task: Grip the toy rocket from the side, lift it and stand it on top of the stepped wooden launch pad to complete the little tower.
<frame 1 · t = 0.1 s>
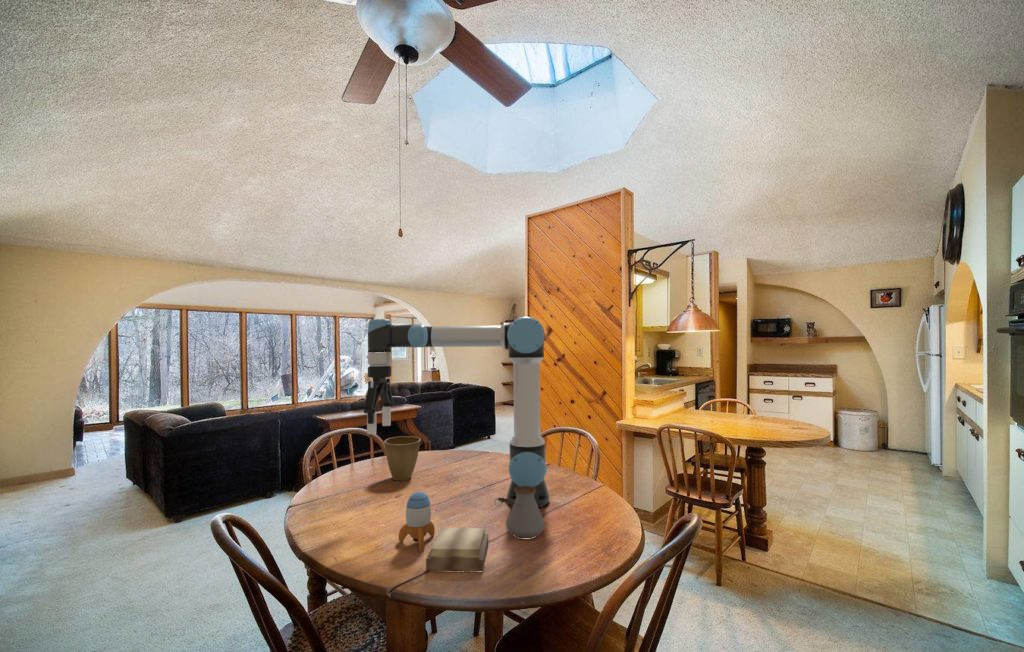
hand: (379, 429, 138), 28 cm above the table, tool pointing down, fingers open, 13 cm apart
plant pot: (402, 478, 175), on the table
coffee pot: (517, 541, 118), on the table
launch pad: (459, 557, 109), on the table
toy rocket: (414, 543, 118), on the table
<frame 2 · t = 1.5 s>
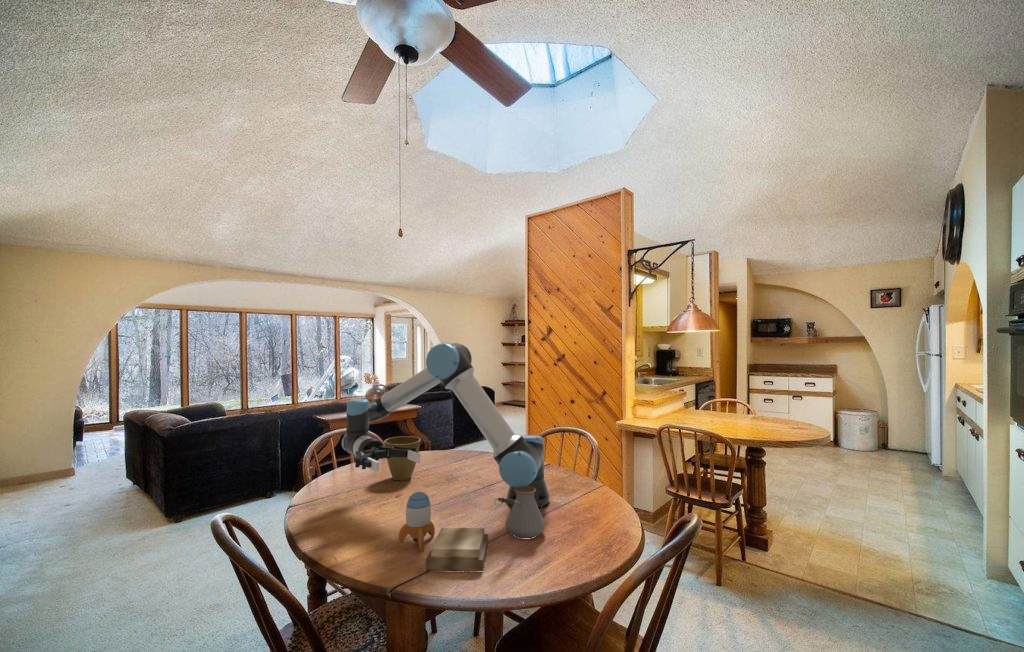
hand: (399, 462, 126), 20 cm above the table, tool horizontal, fingers open, 13 cm apart
nothing on the table moved.
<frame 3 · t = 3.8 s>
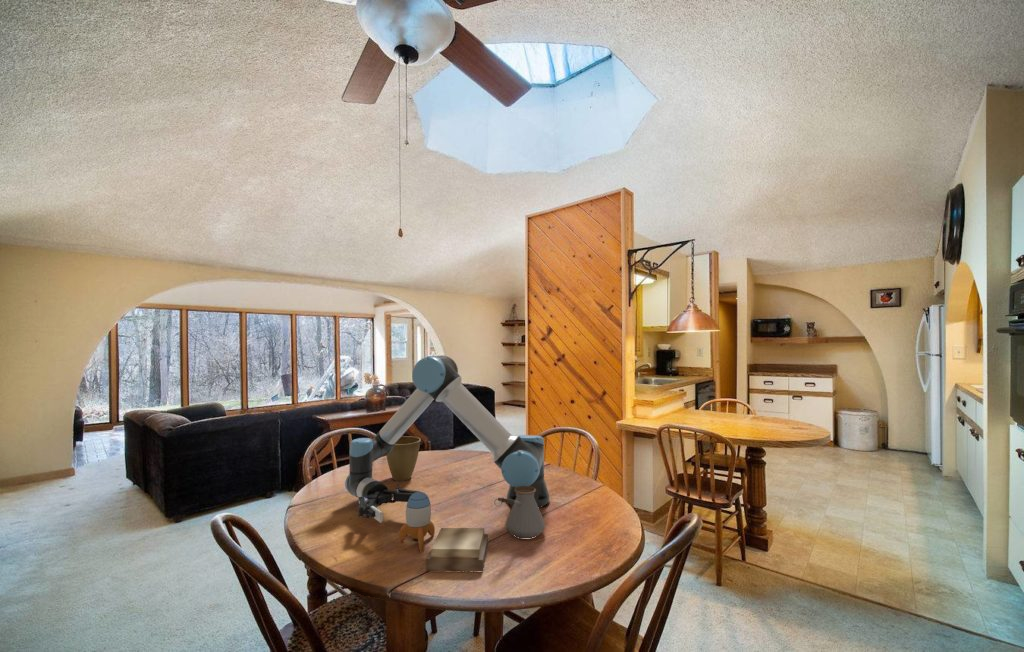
hand: (403, 510, 122), 7 cm above the table, tool horizontal, fingers open, 13 cm apart
nothing on the table moved.
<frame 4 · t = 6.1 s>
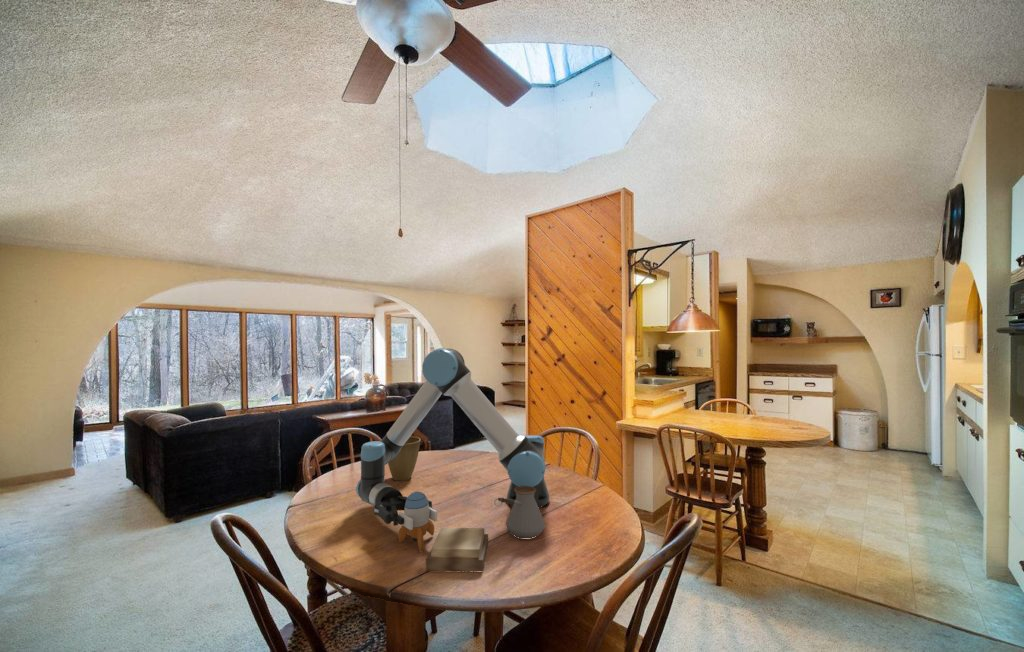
hand: (424, 520, 114), 8 cm above the table, tool horizontal, fingers closed on toy rocket, 7 cm apart
toy rocket: (414, 542, 118), on the table, touching gripper
everything else where it was.
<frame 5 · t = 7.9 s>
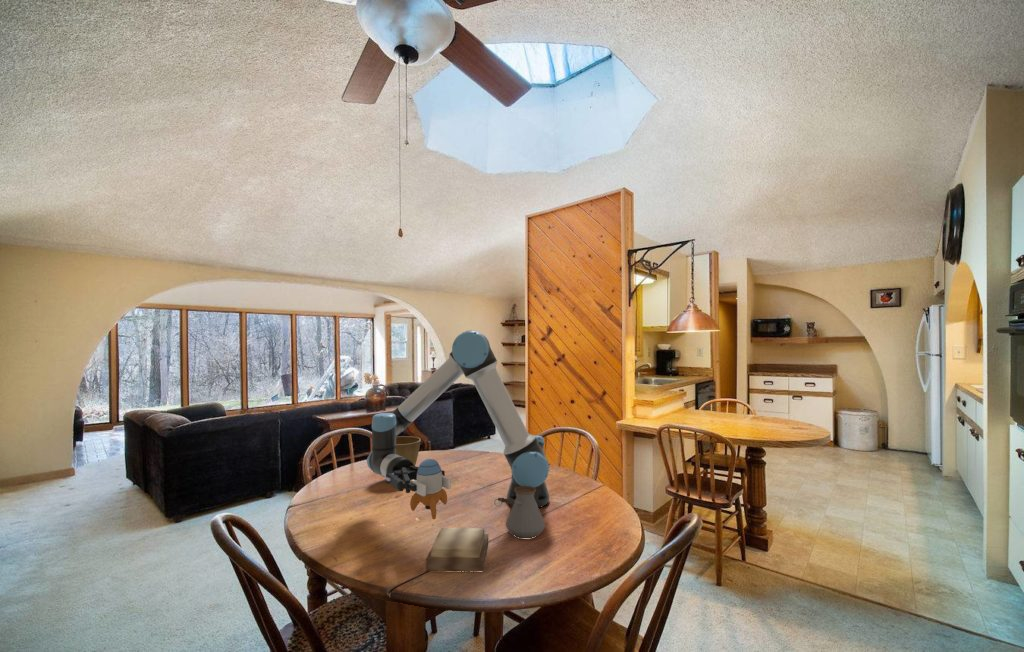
hand: (437, 487, 111), 18 cm above the table, tool horizontal, fingers closed on toy rocket, 7 cm apart
toy rocket: (427, 511, 114), point 10 cm above the table, touching gripper
everything else where it was.
when the fingers open (14 cm above the table, at t = 9.6 s): toy rocket drops 2 cm, resting on launch pad.
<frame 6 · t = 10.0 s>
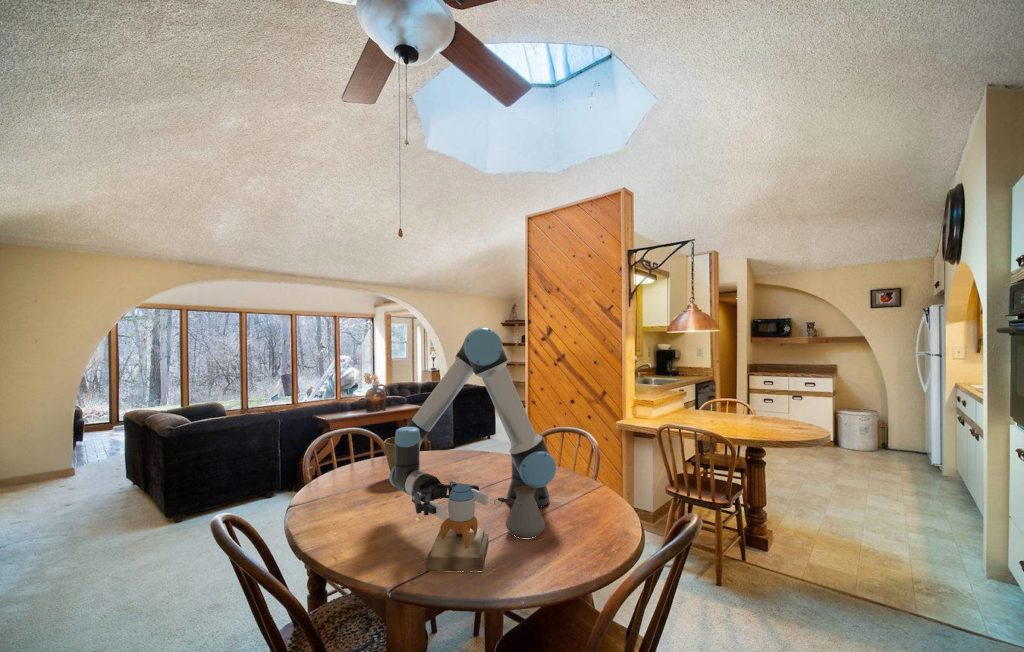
hand: (466, 506, 107), 14 cm above the table, tool horizontal, fingers open, 13 cm apart
toy rocket: (457, 539, 109), point 5 cm above the table, touching launch pad
everything else where it was.
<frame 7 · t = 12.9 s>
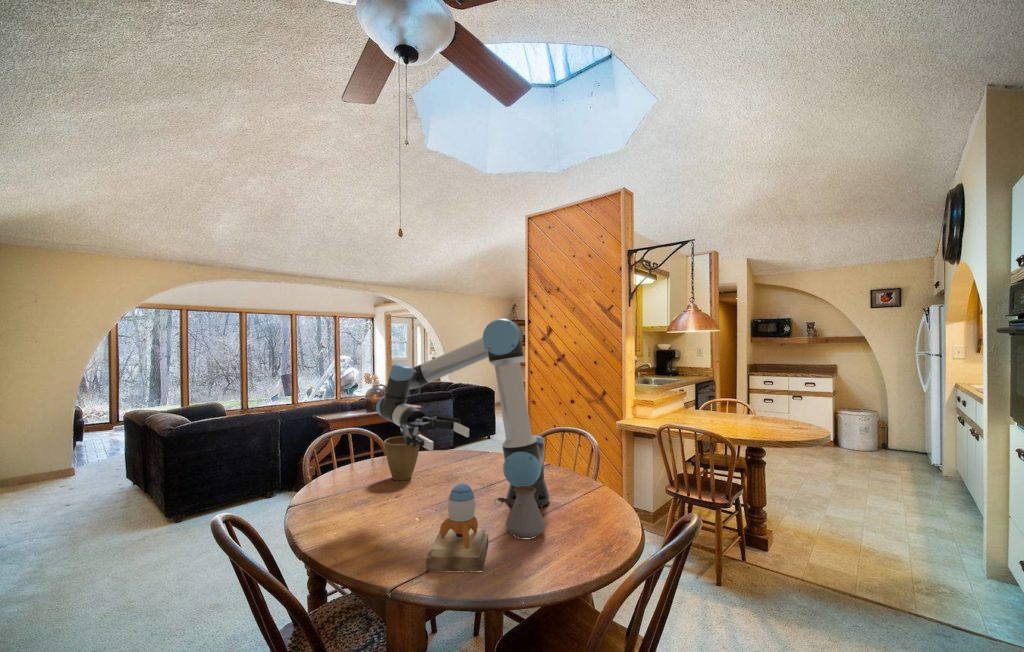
hand: (451, 439, 123), 28 cm above the table, tool horizontal, fingers open, 13 cm apart
nothing on the table moved.
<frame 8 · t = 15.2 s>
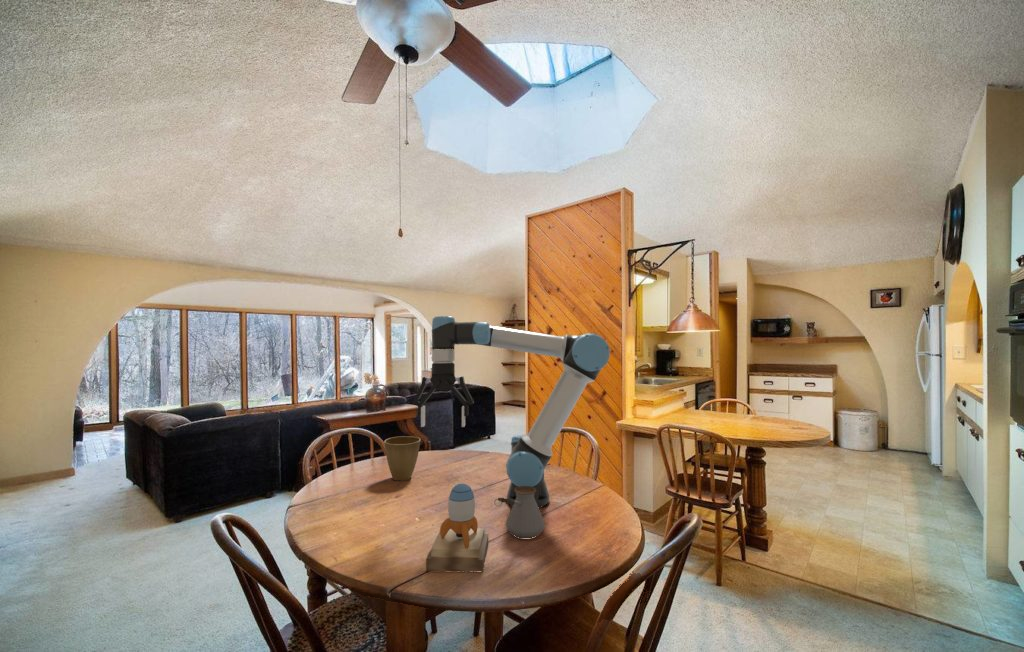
hand: (443, 426, 139), 29 cm above the table, tool pointing down, fingers open, 13 cm apart
nothing on the table moved.
at the end: toy rocket inside the target area on the launch pad (0.5 cm from its centre), point 4.8 cm above the launch pad's base; toy rocket tilted 0°; the gripper is holding nothing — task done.
